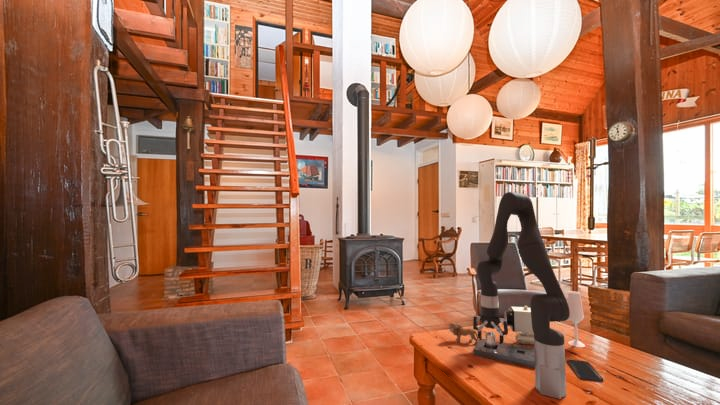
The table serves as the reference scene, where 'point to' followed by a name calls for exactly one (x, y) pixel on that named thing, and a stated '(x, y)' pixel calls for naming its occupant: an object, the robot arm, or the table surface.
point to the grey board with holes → (506, 353)
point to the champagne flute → (575, 314)
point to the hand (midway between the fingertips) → (490, 341)
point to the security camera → (520, 324)
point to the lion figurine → (462, 332)
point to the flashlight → (490, 340)
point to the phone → (584, 370)
